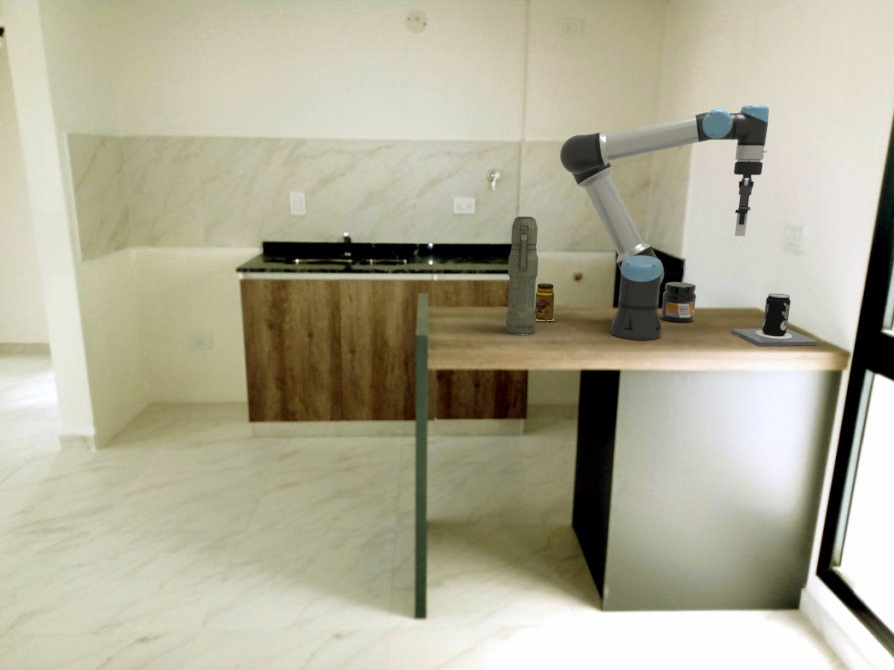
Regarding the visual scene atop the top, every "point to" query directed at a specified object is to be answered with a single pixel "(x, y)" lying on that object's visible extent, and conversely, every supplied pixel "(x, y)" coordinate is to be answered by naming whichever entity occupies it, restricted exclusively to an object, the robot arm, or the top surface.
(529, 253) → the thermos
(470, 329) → the top surface
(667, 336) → the top surface
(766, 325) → the beverage can
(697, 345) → the top surface
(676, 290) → the supplement container
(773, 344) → the plate
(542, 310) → the condiment
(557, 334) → the top surface
